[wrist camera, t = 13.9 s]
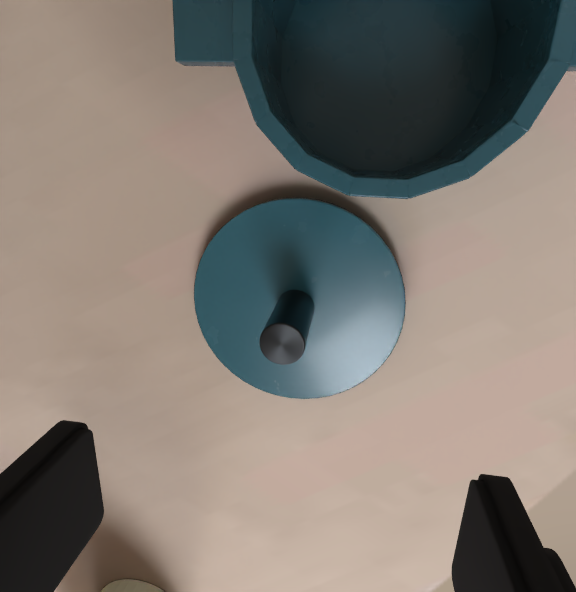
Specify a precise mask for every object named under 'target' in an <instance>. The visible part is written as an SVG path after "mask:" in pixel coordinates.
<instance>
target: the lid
mask: <svg viewBox="0 0 576 592" xmlns="http://www.w3.org/2000/svg"><path fill="white" fill-rule="evenodd" d="M194 301H195V310H196V315H197V319H198V323H199V326H200V328H201V331H202V333H203V336H204V338H205V339H206V341H207V343H208V345H209V347H210V348H211V350H212V351H213V352H214V354H215V355H216V357H217V358H218V359H219V360H220V361H221V362H222V363H223V365H224V366H225V367H227V368H228V369H229V370H230V371H231V372H232V373H233V374H235V375H236V376H237V377H239V378H240V379H242V380H243V381H245V382H246V383H248V384H250V385H252V386H254V387H255V388H258V389H260V390H263V391H265V392H268V393H271V394H274V395H278V396H283V397H288V398H299V399H310V398H320V397H326V396H331V395H334V394H338V393H341V392H343V391H346V390H348V389H350V388H353V387H354V386H356V385H358V384H360V383H361V382H363V381H364V380H366V379H367V378H368V377H370V376H371V375H372V374H373V373H375V372H376V371H377V369H378V368H379V367H380V366H381V365H382V364H383V363H384V362H385V361H386V359H387V358H388V357H389V355H390V354H391V352H392V350H393V349H394V347H395V345H396V343H397V341H398V338H399V336H400V333H401V330H402V326H403V322H404V317H405V304H406V302H405V289H404V284H403V280H402V275H401V273H400V270H399V267H398V265H397V262H396V260H395V258H394V256H393V254H392V252H391V251H390V249H389V247H388V246H387V244H386V243H385V242H384V240H383V239H382V238H381V236H380V235H379V234H378V233H377V232H376V231H375V230H374V229H373V228H372V227H371V226H370V225H369V224H367V223H366V222H365V221H363V220H362V219H361V218H360V217H358V216H357V215H355V214H353V213H351V212H350V211H348V210H346V209H344V208H342V207H339V206H337V205H334V204H332V203H329V202H325V201H321V200H317V199H309V198H283V199H276V200H271V201H268V202H264V203H261V204H258V205H256V206H253V207H251V208H249V209H247V210H245V211H243V212H242V213H240V214H238V215H237V216H235V217H234V218H232V219H231V220H230V221H229V222H228V223H226V224H225V225H224V226H223V227H222V228H221V229H220V230H219V231H218V232H217V233H216V235H215V236H214V237H213V238H212V240H211V241H210V243H209V244H208V246H207V247H206V249H205V251H204V253H203V256H202V258H201V260H200V263H199V266H198V269H197V273H196V279H195V285H194Z"/></svg>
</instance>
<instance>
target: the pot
mask: <svg viewBox="0 0 576 592" xmlns="http://www.w3.org/2000/svg"><path fill="white" fill-rule="evenodd" d="M173 20H174V41H175V60H176V62H178V63H180V64H182V65H184V66H235V68H236V70H237V73H238V76H239V79H240V82H241V84H242V87H243V90H244V93H245V95H246V98H247V101H248V104H249V107H250V109H251V112H252V115H253V118H254V120H255V122H256V125H257V126H258V127H259V128H260V129H261V131H262V132H263V133H264V134H265V135H266V136H267V137H268V139H269V140H270V141H271V142H272V143H273V144H274V146H275V147H276V148H277V149H278V150H279V151H280V152H281V154H282V155H283V156H284V157H285V158H286V159H287V160H288V162H289V163H290V164H291V165H292V166H293V167H294V169H296V170H297V171H299V172H301V173H303V174H305V175H307V176H309V177H311V178H313V179H315V180H317V181H319V182H321V183H323V184H325V185H327V186H330V187H332V188H334V189H336V190H338V191H340V192H342V193H344V194H346V195H349V196H362V197H381V198H399V199H408V198H413V197H416V196H419V195H422V194H425V193H428V192H431V191H434V190H437V189H439V188H442V187H445V186H448V185H451V184H454V183H457V182H460V181H463V180H466V179H469V178H470V177H472V176H473V175H475V174H476V173H477V172H478V171H480V170H481V169H482V168H483V167H485V166H486V165H487V164H488V163H490V162H491V161H492V160H493V159H495V158H496V157H497V156H498V155H500V154H501V153H502V152H503V151H504V150H506V149H507V148H508V147H509V146H511V145H512V144H513V143H514V142H516V141H517V140H518V139H519V138H521V137H522V136H523V135H524V134H525V133H526V132H528V131H529V129H530V128H531V126H532V124H533V123H534V121H535V120H536V118H537V116H538V115H539V113H540V112H541V110H542V109H543V107H544V105H545V104H546V102H547V101H548V99H549V98H550V96H551V94H552V93H553V91H554V90H555V88H556V86H557V85H558V83H559V82H560V80H561V79H562V77H563V75H564V74H565V72H566V71H576V0H173Z"/></svg>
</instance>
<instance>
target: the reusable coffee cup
mask: <svg viewBox="0 0 576 592" xmlns="http://www.w3.org/2000/svg"><path fill="white" fill-rule="evenodd" d="M101 592H165V591H163V590H161V589H160V588H158V587H156V586H154V585H152V584H149V583H146V582H143V581H139V580H132V579H122V580H117V581H114V582H111V583H109V584H108V585H107V586H105V587H104V588H103V590H102V591H101Z"/></svg>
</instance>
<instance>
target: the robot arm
mask: <svg viewBox="0 0 576 592" xmlns="http://www.w3.org/2000/svg"><path fill="white" fill-rule="evenodd" d="M103 514H104V507H103V500H102V493H101V487H100V480H99V473H98V466H97V459H96V452H95V446H94V439H93V433H92V431H91V430H89V429H88V427H87V425H86V424H85V423H81V422H73V421H65V420H63V421H60V422H58V423H57V424H56V425H55V426H54V427H52V428H51V429H50V430H49V431H48V432H47V433H46V434H45V435H43V436H42V437H41V438H40V439H39V440H38V441H37V442H36V443H34V444H33V445H32V446H31V447H30V448H29V449H28V450H27V451H26V452H24V453H23V454H22V455H21V456H20V457H19V458H18V459H17V460H15V461H14V462H13V463H12V464H11V465H10V466H9V467H8V468H6V469H5V470H4V471H3V472H2V473H1V474H0V592H54V590H55V589H56V587H57V586H58V585H59V583H60V582H61V580H62V579H63V577H64V576H65V574H66V573H67V572H68V570H69V569H70V567H71V566H72V564H73V563H74V561H75V560H76V559H77V557H78V556H79V554H80V553H81V551H82V550H83V548H84V547H85V546H86V544H87V543H88V541H89V540H90V538H91V537H92V536H93V534H94V533H95V531H96V530H97V528H98V527H99V525H100V523H101V521H102V518H103ZM452 581H453V586H454V591H455V592H576V588H575V586H574V584H573V582H572V580H571V578H570V576H569V574H568V572H567V570H566V569H565V566H564V564H563V562H562V561H561V559H560V557H559V556H558V554H557V553H556V552H555V551H554V550H552V549H549V548H543V546H542V543H541V541H540V539H539V537H538V535H537V533H536V531H535V529H534V527H533V525H532V523H531V521H530V519H529V517H528V515H527V512H526V510H525V508H524V506H523V504H522V502H521V500H520V498H519V496H518V494H517V492H516V490H515V488H514V486H513V484H512V482H511V480H510V479H509V478H508V477H501V476H493V475H485V474H481V475H480V476H479V478H478V480H471V481H470V485H469V489H468V494H467V498H466V503H465V508H464V512H463V517H462V522H461V526H460V531H459V536H458V540H457V545H456V549H455V554H454V559H453V563H452Z"/></svg>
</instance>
